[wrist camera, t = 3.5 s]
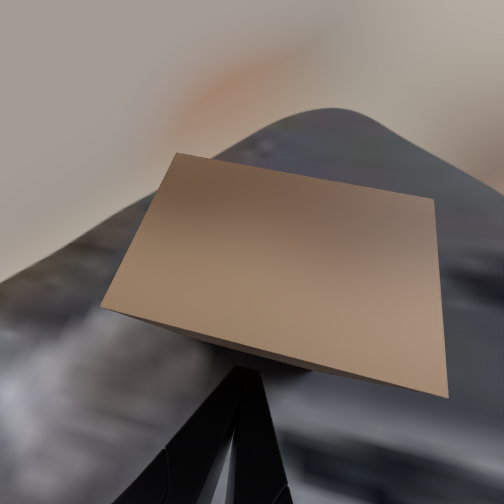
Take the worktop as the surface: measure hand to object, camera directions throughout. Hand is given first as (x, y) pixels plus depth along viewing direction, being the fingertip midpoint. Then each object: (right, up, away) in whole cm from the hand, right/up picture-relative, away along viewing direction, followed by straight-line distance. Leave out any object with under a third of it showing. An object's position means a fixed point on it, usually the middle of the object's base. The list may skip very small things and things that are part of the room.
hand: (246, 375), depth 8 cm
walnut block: (+1, 0, +7) cm, 7 cm away
